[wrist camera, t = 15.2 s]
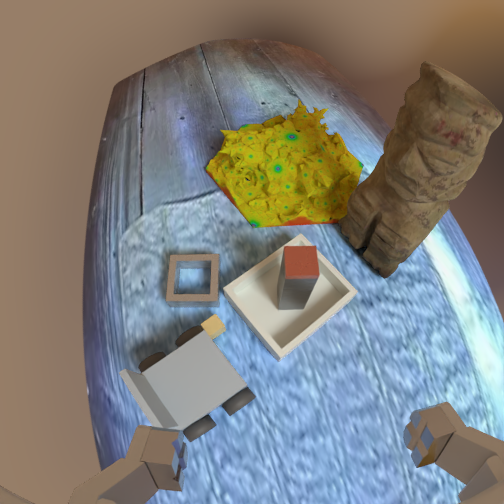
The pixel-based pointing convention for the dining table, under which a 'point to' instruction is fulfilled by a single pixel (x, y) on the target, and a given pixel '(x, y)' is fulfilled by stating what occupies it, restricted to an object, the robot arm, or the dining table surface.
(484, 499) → the robot arm
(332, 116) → the dining table surface
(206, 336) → the trolley
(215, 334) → the block
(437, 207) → the sculpture
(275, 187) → the decorative piece
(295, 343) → the tray
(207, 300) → the bracket
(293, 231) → the dining table surface
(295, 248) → the pin
